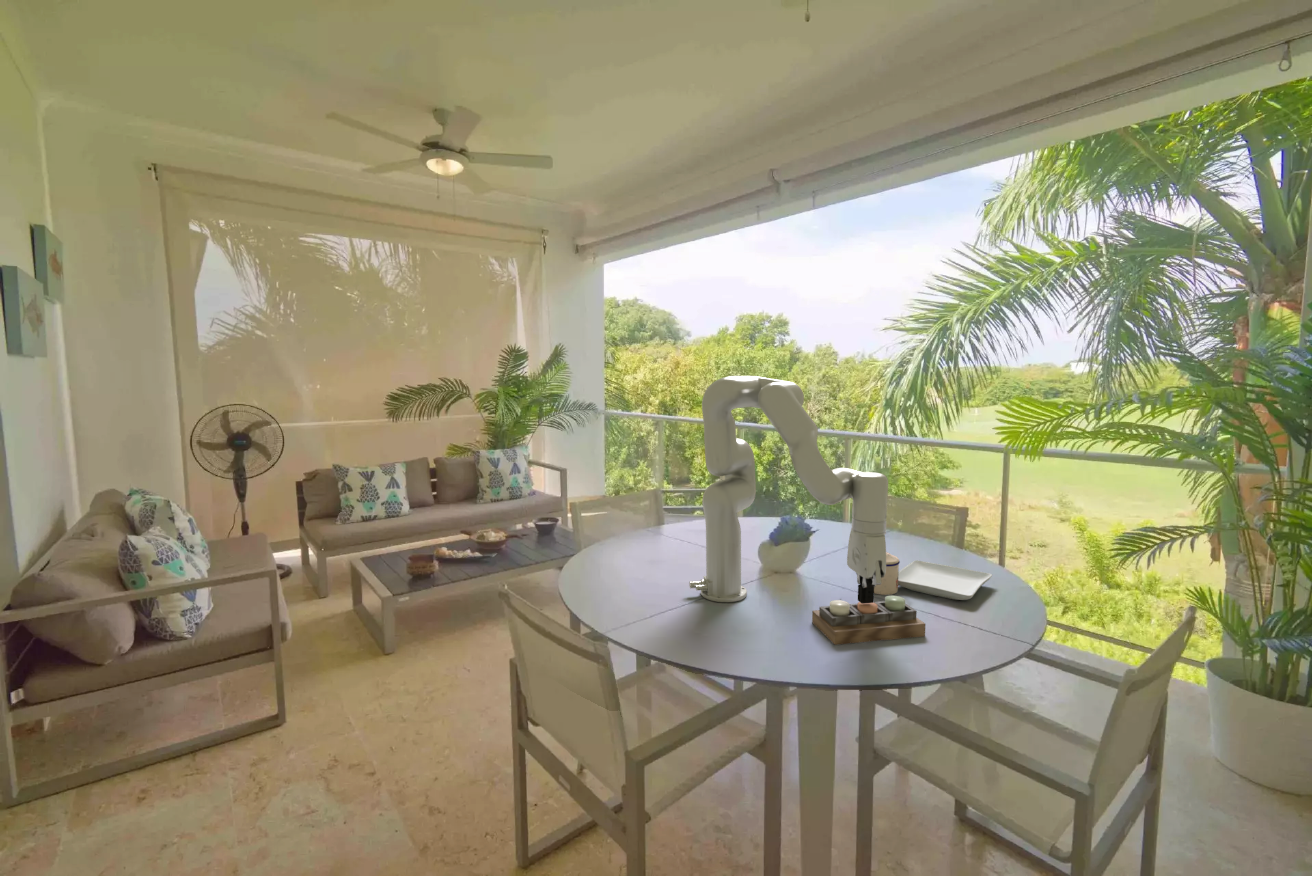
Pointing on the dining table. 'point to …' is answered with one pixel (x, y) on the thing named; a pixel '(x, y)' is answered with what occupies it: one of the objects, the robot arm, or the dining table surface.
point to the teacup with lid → (889, 577)
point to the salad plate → (941, 580)
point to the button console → (868, 624)
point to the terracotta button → (867, 608)
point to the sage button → (894, 603)
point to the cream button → (839, 608)
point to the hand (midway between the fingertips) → (865, 601)
